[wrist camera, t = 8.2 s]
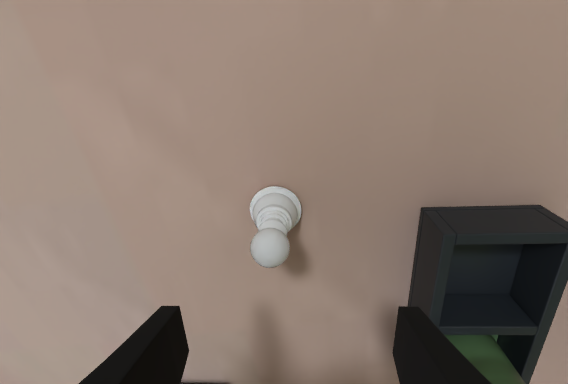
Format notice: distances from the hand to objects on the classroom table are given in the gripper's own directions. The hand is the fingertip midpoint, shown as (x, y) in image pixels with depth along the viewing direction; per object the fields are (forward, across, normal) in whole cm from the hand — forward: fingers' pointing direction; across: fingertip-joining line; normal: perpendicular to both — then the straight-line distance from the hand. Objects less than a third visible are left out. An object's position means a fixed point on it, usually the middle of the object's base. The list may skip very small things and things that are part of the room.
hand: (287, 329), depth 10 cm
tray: (+8, -10, +5) cm, 14 cm away
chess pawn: (+8, +1, -1) cm, 8 cm away
